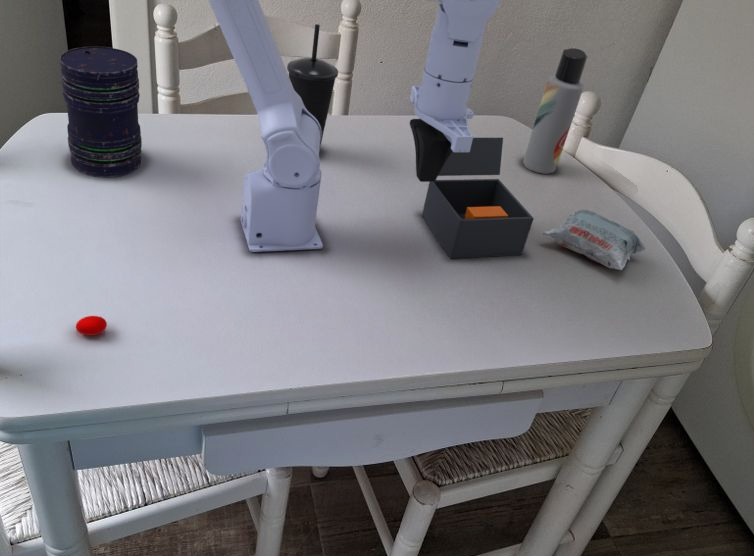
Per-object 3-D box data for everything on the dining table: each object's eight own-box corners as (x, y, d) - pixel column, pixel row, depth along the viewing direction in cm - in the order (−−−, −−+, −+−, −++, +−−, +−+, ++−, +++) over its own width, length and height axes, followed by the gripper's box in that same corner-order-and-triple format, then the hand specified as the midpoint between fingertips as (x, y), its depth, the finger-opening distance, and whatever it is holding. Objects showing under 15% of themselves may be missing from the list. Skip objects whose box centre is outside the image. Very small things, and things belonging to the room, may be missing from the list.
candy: (107, 326, 74) (106, 312, 73) (106, 339, 72) (105, 324, 71) (77, 327, 73) (75, 313, 72) (75, 340, 72) (73, 326, 70)
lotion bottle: (559, 167, 122) (598, 52, 111) (548, 178, 118) (588, 60, 107) (529, 155, 124) (564, 42, 113) (517, 166, 120) (552, 49, 109)
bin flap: (431, 176, 98) (430, 175, 98) (499, 175, 101) (498, 174, 102) (433, 137, 96) (432, 137, 97) (503, 137, 100) (502, 137, 100)
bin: (421, 216, 102) (429, 179, 98) (488, 213, 105) (498, 178, 102) (450, 258, 94) (460, 220, 90) (521, 254, 97) (533, 218, 94)
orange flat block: (465, 248, 96) (474, 216, 93) (458, 238, 98) (467, 207, 95) (498, 246, 97) (508, 215, 94) (491, 236, 99) (500, 205, 96)
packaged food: (616, 283, 94) (629, 253, 92) (538, 244, 100) (549, 214, 97) (640, 261, 100) (653, 232, 97) (565, 225, 106) (576, 196, 103)
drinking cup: (326, 165, 111) (343, 36, 99) (278, 158, 110) (288, 29, 99) (328, 144, 117) (344, 21, 105) (282, 138, 116) (293, 13, 105)
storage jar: (156, 166, 103) (153, 65, 94) (95, 184, 96) (86, 78, 88) (116, 140, 108) (110, 42, 99) (56, 156, 101) (43, 52, 92)
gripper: (508, 99, 76) (478, 207, 84) (456, 52, 87) (434, 152, 95) (448, 98, 74) (423, 209, 82) (403, 50, 85) (384, 152, 93)
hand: (425, 179), depth 88 cm, fingers closed
